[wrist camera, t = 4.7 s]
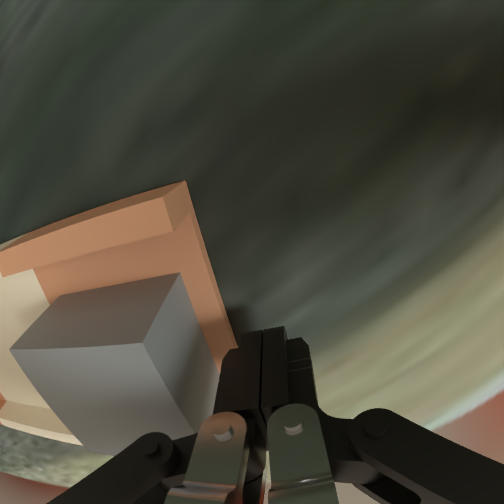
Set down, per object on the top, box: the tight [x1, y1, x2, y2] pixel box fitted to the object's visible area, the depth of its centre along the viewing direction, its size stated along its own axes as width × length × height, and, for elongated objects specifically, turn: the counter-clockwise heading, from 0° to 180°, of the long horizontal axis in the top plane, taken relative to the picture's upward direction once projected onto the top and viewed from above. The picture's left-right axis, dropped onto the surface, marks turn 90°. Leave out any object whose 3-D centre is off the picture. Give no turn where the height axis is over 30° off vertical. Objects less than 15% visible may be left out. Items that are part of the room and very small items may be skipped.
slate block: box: [9, 272, 220, 456], centre depth 11 cm, size 6×6×4 cm
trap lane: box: [0, 180, 238, 445], centre depth 13 cm, size 29×12×2 cm, turn 103°
